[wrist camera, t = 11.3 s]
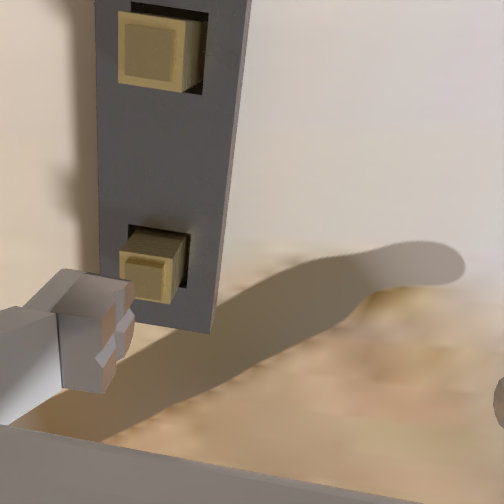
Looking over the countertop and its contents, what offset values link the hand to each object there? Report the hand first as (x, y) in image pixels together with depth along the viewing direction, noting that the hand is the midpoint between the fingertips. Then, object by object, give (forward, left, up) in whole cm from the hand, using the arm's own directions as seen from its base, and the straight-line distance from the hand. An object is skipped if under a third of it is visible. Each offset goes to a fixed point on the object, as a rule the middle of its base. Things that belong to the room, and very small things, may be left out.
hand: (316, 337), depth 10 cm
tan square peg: (+10, -3, -28) cm, 30 cm away
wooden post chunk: (+10, +13, -28) cm, 32 cm away
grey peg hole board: (+10, +5, -28) cm, 30 cm away
